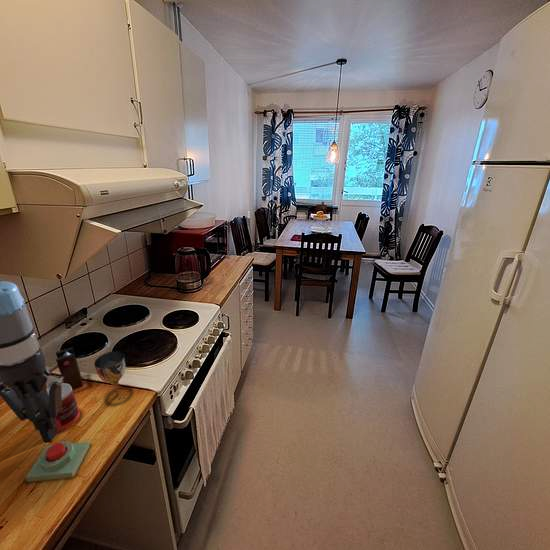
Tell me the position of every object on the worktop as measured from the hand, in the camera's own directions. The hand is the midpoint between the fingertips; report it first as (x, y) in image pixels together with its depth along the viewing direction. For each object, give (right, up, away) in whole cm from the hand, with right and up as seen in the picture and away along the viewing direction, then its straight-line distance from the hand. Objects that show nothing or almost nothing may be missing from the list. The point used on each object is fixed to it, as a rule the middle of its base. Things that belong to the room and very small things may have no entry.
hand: (51, 437), depth 67 cm
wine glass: (+3, -1, +24) cm, 24 cm away
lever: (-16, +7, +22) cm, 29 cm away
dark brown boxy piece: (-13, +1, +27) cm, 31 cm away
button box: (0, -9, +4) cm, 10 cm away
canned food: (-8, -4, +15) cm, 17 cm away
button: (0, -5, +2) cm, 6 cm away
